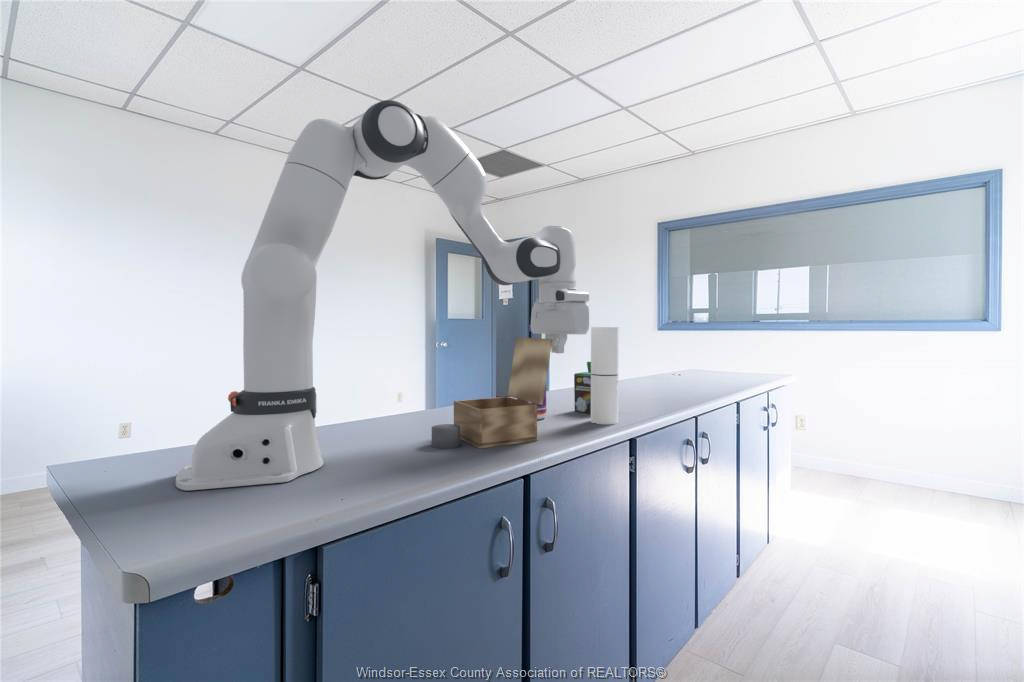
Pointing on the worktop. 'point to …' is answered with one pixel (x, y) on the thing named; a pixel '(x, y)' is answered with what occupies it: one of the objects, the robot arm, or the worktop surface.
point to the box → (496, 421)
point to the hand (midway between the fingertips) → (557, 353)
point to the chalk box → (583, 390)
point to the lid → (530, 369)
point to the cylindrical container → (604, 374)
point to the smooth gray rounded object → (445, 436)
